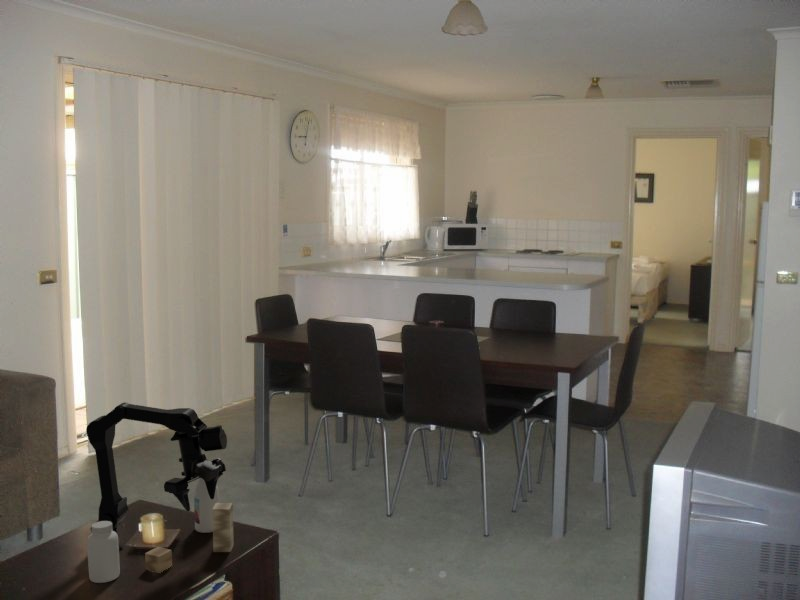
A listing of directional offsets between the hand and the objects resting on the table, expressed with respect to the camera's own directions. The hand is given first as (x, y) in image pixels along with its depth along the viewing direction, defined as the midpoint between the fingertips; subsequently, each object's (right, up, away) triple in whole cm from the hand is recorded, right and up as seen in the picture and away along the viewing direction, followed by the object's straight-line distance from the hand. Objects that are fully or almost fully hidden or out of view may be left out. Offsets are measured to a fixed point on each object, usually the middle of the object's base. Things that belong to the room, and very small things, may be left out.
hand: (200, 504), depth 232 cm
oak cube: (-10, -16, -8) cm, 20 cm away
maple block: (+6, -14, +5) cm, 16 cm away
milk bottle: (-3, -13, +20) cm, 23 cm away
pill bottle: (-23, -16, -13) cm, 31 cm away
